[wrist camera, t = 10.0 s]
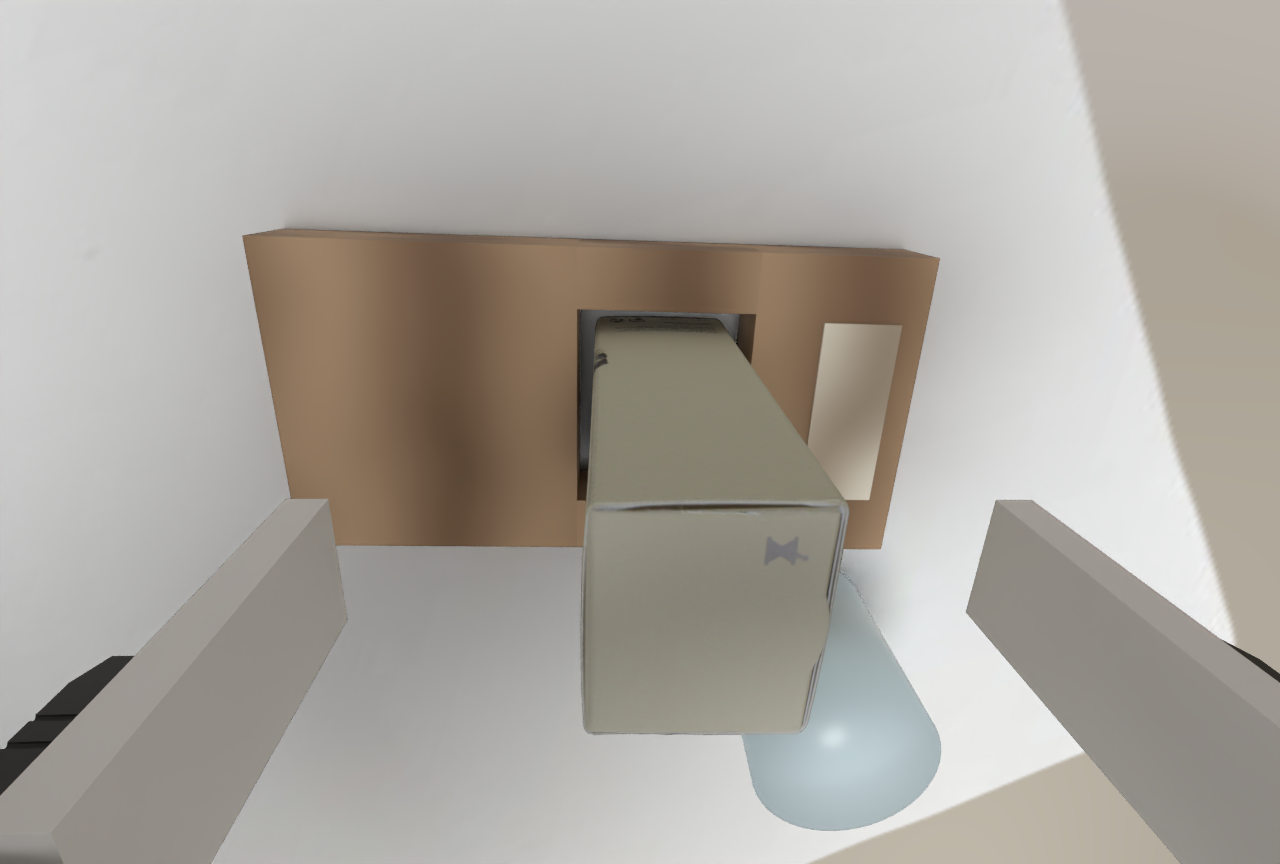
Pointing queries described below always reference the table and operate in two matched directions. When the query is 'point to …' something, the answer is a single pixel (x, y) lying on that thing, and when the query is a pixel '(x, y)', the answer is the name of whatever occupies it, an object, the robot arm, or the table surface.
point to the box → (700, 541)
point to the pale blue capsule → (849, 735)
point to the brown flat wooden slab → (554, 368)
